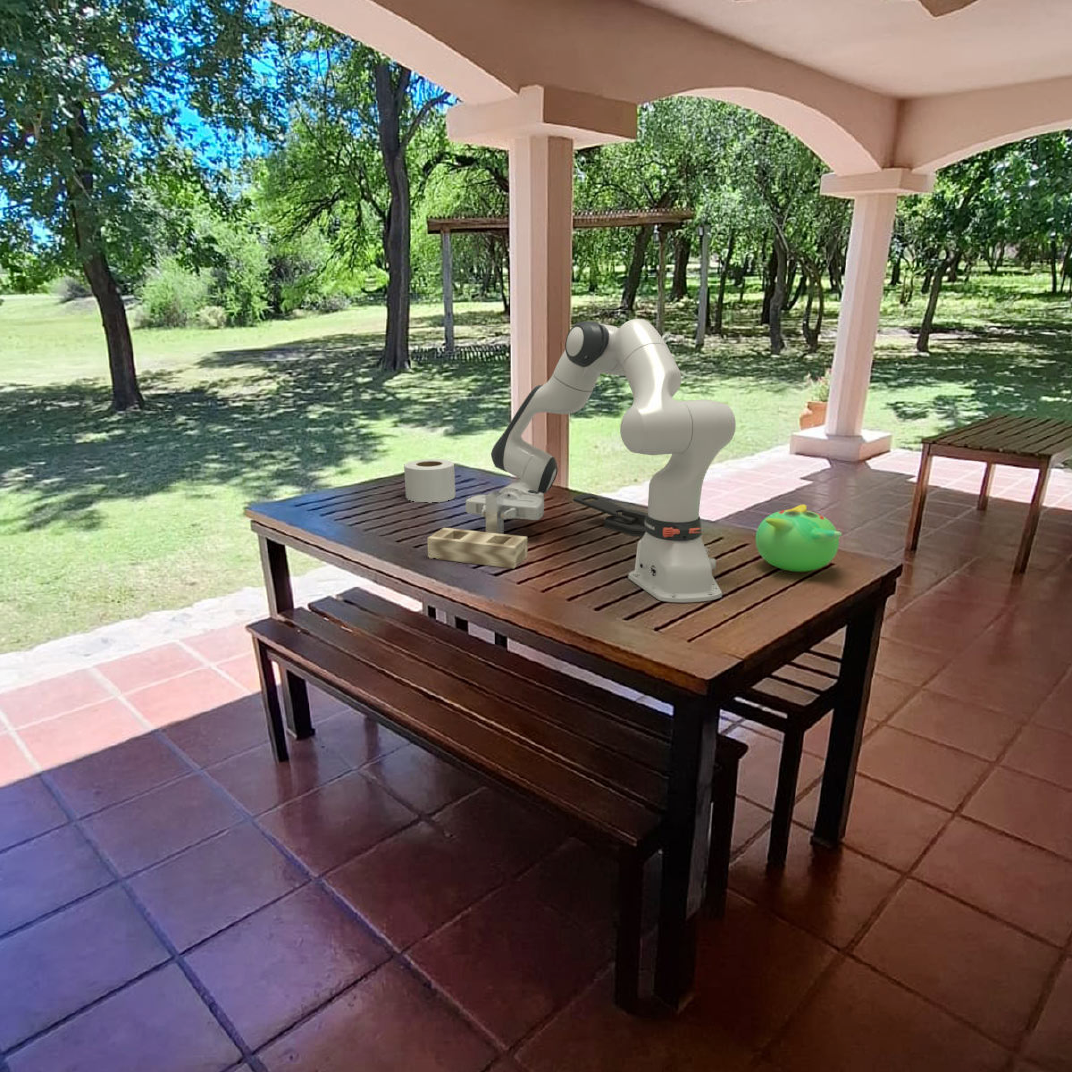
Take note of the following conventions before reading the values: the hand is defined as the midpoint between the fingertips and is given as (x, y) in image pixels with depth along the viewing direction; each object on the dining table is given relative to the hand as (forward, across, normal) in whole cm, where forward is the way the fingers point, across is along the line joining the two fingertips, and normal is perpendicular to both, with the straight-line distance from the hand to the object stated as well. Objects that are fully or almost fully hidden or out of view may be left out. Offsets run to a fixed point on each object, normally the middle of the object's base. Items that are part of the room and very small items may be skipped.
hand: (493, 515), depth 185 cm
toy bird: (-7, +72, +8) cm, 73 cm away
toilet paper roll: (-38, -37, +8) cm, 54 cm away
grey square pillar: (-1, 0, +8) cm, 8 cm away
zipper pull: (-27, +25, +8) cm, 38 cm away
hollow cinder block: (+10, 0, +8) cm, 13 cm away
